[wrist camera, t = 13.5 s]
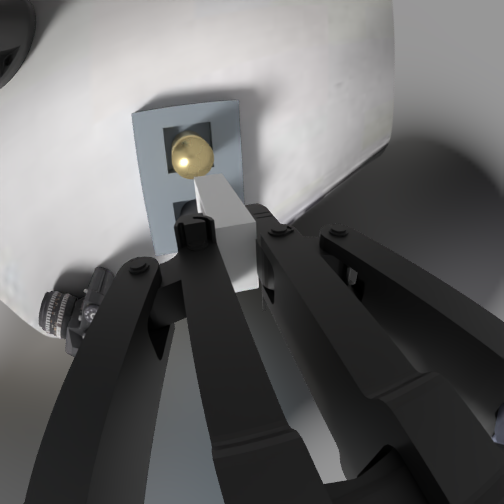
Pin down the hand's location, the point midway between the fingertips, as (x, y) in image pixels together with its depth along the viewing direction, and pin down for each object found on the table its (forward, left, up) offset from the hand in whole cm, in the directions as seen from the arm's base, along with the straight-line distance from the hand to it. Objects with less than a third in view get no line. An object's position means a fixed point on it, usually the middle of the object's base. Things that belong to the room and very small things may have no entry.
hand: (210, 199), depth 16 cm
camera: (+20, -20, -22) cm, 36 cm away
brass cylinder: (0, 0, -21) cm, 21 cm away
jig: (+4, 0, -22) cm, 22 cm away
